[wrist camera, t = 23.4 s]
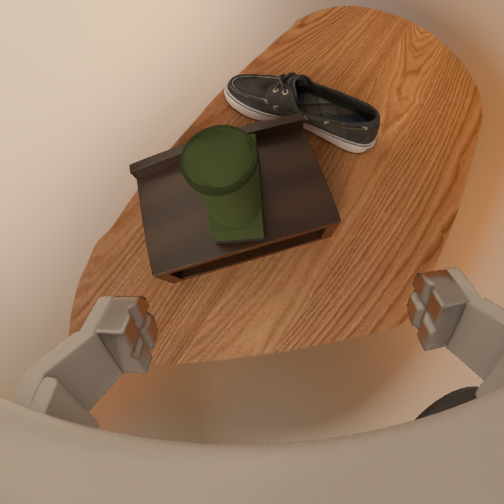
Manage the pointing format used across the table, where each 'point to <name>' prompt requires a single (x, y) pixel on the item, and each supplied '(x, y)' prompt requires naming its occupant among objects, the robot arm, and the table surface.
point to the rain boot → (226, 182)
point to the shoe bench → (197, 216)
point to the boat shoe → (306, 107)
